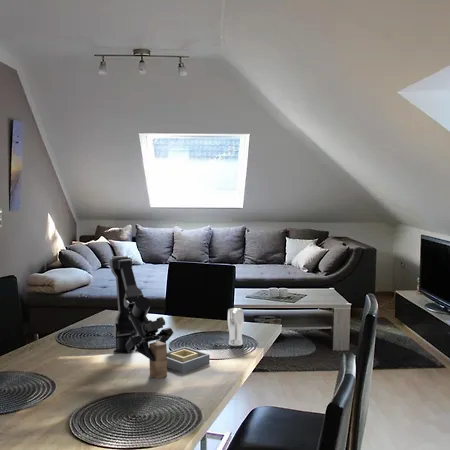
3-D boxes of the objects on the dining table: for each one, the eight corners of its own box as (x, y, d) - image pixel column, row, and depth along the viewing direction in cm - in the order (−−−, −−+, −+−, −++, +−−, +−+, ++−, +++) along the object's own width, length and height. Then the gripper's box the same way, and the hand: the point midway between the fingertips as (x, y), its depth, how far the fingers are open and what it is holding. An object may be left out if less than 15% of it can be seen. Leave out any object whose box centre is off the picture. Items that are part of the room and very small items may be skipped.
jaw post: (149, 375, 198) (149, 343, 197) (159, 372, 202) (158, 341, 200) (157, 379, 195) (156, 346, 194) (166, 375, 198) (166, 343, 197)
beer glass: (242, 347, 231) (242, 312, 230) (226, 346, 232) (226, 311, 231) (244, 342, 238) (245, 308, 236) (229, 341, 239) (229, 307, 238)
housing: (158, 363, 211) (158, 353, 211) (185, 354, 221) (185, 345, 221) (182, 372, 201) (182, 362, 201) (209, 363, 211) (209, 353, 211)
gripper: (129, 315, 192) (149, 353, 186) (170, 306, 206) (190, 341, 199) (117, 333, 198) (136, 370, 192) (157, 322, 212) (176, 357, 205)
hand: (160, 359), depth 197 cm, fingers open, 5 cm apart
